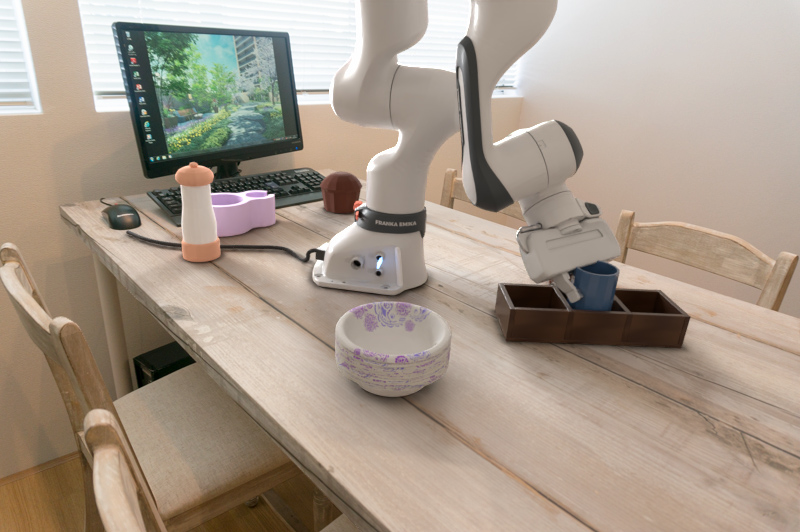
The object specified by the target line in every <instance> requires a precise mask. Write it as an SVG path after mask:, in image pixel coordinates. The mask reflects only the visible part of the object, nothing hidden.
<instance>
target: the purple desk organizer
mask: <svg viewBox="0 0 800 532" xmlns="http://www.w3.org/2000/svg"><path fill="white" fill-rule="evenodd" d="M275 196H276V195H275V193H270V194H268V190H259V189H256V190H255V189H254V190H246V191H241V192H211V199H212V206H213V210H214V214H215V218H216V222H217V237H218V238H219V237H221V238H224V237H232V236H233V237H234V236H238V235H242V234H245V233H248V232H249V231H250V230H252V229H256V228H265V227H270V226H273V225H275V224H276V220H277V219H276V197H275Z"/></svg>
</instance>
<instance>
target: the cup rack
mask: <svg viewBox="0 0 800 532" xmlns="http://www.w3.org/2000/svg"><path fill="white" fill-rule="evenodd" d="M567 298H568V297H567V295H566V294H565V293H564V292H563V291H562V290H560V289H559V288H558V287H557V286H556V285H555V284H537V283H533V284H532V283H511V282H509V283H508V282H498V284H497V291H496V299H495V306H494V314H495V318H496V319H497V322H498V324H499V327H500V330H501V332H502V335H503V337H504V340H505V341H506V342H522V343H523V342H525V343H548V344H549V343H550V344H577V345H596V346H597V345H598V346H600V345H601V346H621V347H622V346H623V347H624V346H625V347H648V348H670V349H673V348H674V349H682V347H683V344H684V341H685V338H686V334H687V331H688V327H689V325H690V321H691V315H689V314H688V313H687V312H686V311H685V310H684V309H682V307H680V306H679V305H678V304H677V303H676V302H675V301H673V300H672V298H670V297H669V296H668V295H667V294H666V293H665V292H664V291H662V290H661V289H647V288H644V289H643V288H623V287H616V290H615V295H614V299H613V304H612V308H611V311H594V310H573V309H572V308H571V306H570V305H569V303H568V302H567Z"/></svg>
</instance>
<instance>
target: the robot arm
mask: <svg viewBox="0 0 800 532" xmlns="http://www.w3.org/2000/svg"><path fill="white" fill-rule="evenodd" d="M468 2H469V3H468V4H469V10H468V11H469V13H468V21H467V26H466V30H465V33H464V36H463V37H462V38H461V40H460V41H459V42H458V44H457V45H456V51H455V70H452V69H448V68H444V67H440V66H429V65H428V66H427V65H411V64H403V63H400V61H399V59H398V55H399V54H401V53H404V52H405V51H407V50H409V49H411V48H412V47H414V46H415V45H416V44H418V43H419V42H420V41H421V40H422V39H423V37H424V36H425V34H426V32H427V30H428V26H429V6H428V0H353V4H354V12H355V13H354V15H355V25H356V26H355V27H356V37H355V44H354V48H353V51H352V53H351V55H350V57H349V59H348V60H347V61H346V62H345V63H344V64H343V65H342V66H340V67H339V68H338V70H337V71H336V72H335V74H334V75H333V77H332V80H331V82H330V85H329V86H330V87H329V101H330V104H331V108H332V110H333V112H334V113H335V115H336V117H337V118H338V119H339V120H341V121H344V122H346V123H350V124H352V125H356V126H358V127H362V128H369V129H379V130H388V131H396V132H398V141H397V144H395V146H393V147H391V148H389V149H386V150H384V151H381V152H380V153H377V154H376V155H375V156H373V158H371V160H370V161H369V163H368V165H367V168H366V185H365V186H366V187H365V202H363V201H361V200H359V201H356V203H354V207H353V208H354V218H353V219H354V222H353V223H351V224H350V225H349V226H347V227H346V228H344V229H342V230H341V231H340V232H338V233H337V234H335V235H333V237H332V238H331V239H330V240H329V242H325V243H323V244H321V245H320V246H318V247H314V248H310V249H308V250H307V251H306V253H305V257H304V258H303V257H300V256H299V255H298V254H297V253H296V252H295V251H294V250H292V249H290V248H289V247H286V246H281V245H272V244H271V245H270V244H220V250H239V249H240V250H276V251H282V252H286V253H288V254H290V255H291V256H292V257H294V258H295V259H297V260H299V261H300V262H302V263H307V262H309V261H310V259H311V254H313V253H314V254H315V260H317V261H316V262H315V264H314V266H313V268H312V275H311V278H312V281H313V282H314V284H315V285H316V286H318V287H323V288H329V289H339V290H347V291H352V292H353V291H355V292H363V293H369V294H370V293H372V294H378V295H386V296H397V295H399V294H401V293H402V292H404V291H406V290H411V289H415V288H417V287H420V286H422V285H423V284H425V283H426V282H427V280H428V279H429V275H428V272H427V266H426V260H425V249H424V248H425V247H424V246H425V245H424V238H425V236H426V232H427V221H428V220H427V219H428V217H427V216H428V214H427V206H426V204H425V203H426V193H427V186H428V180H429V179H428V178H429V173H430V169H431V165H432V163H433V160H434V158H435V157H436V154H438V151H439V150H440V149H441V148H442V146H443V145H444V144H445V143H446V142H447V141H448V140H449V139H450V138H451V137H453V136H455V135H456V134H458V133H459V132H460V143H461V144H460V145H461V162H460V164H461V166H460V167H461V168H460V169H461V181H462V186H463V189H464V192H465V195H466V196H467V198H468V200H469V202H470V204H472V206H474V207H476V208H478V209H481V210H483V211H486V212H491V213H495V214H497V213H499V212H500V211H502V210H504V209H507V208H508V207H510V206H512V205H514V204H515V203H516V202H518V204H519V206H520V209H521V210H520V212H521V215H522V217H523V219H524V221H525V223H526V225H524V226H521V227H519V228H518V230H517V232H516V235H515V240H516V242H517V244H518V250H519V253H520V257H521V260H522V263H523V265H524V268H525V270H526V273H527V275H528V277H529V280H531V281H532V282H533V283H534V284H536V285H539V284H541V283H545V282H547V281H548V282H549V280H552V279H553V281H554V282H553V283H554V285H556V286H557V287H558V288H559V289H560V290H562V291H563V292H564V293H565V294H566V295H567V297H568V299H569V301H570V302H571V303H574V302H577V301H579V300H581V299H583V298H584V295H583V294H582V291H581V289H580V288H576V287H575V286H574V285H573V284H572V283H571V282H570V281H569V279H570V276H569V274H572V272H573V270H575V269H576V267H579V268H582V267H585V266H589V265H592V264H595V263H597V261H598V260H599V261H604V262H607V263H610V262H612V261H614V260H617V259H618V258H619V257H621V254H622V249H621V248H622V247H621V245H620V243H619V241H618V239H617V237H616V235H615V233H614V231H613V229H612V228H611V226H610V224H609V223H608V222H607V220H605V219H604V218H602V215H603V214H604V213H603V210H602V208H601V206H600V205H599V204H598V203H594V202H591V201H587V200H583V199H581V198H578V197H575V195H574V193H573V191H572V190H571V189H570V188H569V187H568V186H567V184H566V181H567V180H569V178H572V177H574V176H575V175H576V174H577V172H578V170H579V168H580V167H581V164H582V161H583V158H584V149H583V146H582V144H581V142H580V139H579V137H578V135H577V134H576V132H575V131H574V129H573V128H572V127H571V126H570V125H568V124H566V123H565V122H563V121H560V120H557V119H551V120H547V121H544V122H541V123H537V124H536V125H533V126H530V127H528V128H527V127H526V128H525V127H524V128H520V129H517V130H514V131H512V132H511V133H509V134H508V135H507V136H505V137H504V138H503V139H501V140H499V141H496V142H494V135H493V133H494V132H493V113H492V98H493V94H494V91H495V89H496V86H497V85H498V83H499V81H500V80H501V79H502V77H503V76H504V75H505V74H506V73H507V72H508V70H509V69H510V68H511V67H513V65H514V64H515V63H517V62H518V60H519V59H521V57H523V56H525V55H526V53H528V52H529V51H530V50H531V49H532V48H533V47H534V46H536V45H537V44H538V42H540V40H541V39H542V38H543V36H544V35H545V34H546V32H547V31H548V30H549V28H550V26H551V24H552V23H553V21H554V19H555V17H556V16H555V15H556V13H557V10H558V5H559V4H558V2H559V0H468ZM125 233H126V234H127V235H128V236H131V237H134V238H136V239H138V240H140V241H142V242H143V241H144V242H147V243H150V244H154V245H158V246H159V245H160V246H166V247H173V248H181V249H182V243H179V242H171V241H164V240H158V239H153V238H149V237H146V236H143V235H141V234H137V233H135V232H134V231H131V230H126V231H125Z"/></svg>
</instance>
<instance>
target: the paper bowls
mask: <svg viewBox="0 0 800 532" xmlns="http://www.w3.org/2000/svg"><path fill="white" fill-rule="evenodd" d="M334 330H335V331H334V332H335V333H334V339H335V341H334V346H335V349H334V358H335V364H336V367H337V369H338V371H339V372H340V373H341V374H342V375H343V376H344V377H345V378H346V379H348V380H351V381H352V382H354V383H356V384H357V385H358V386H359V387H360V388H362V389H363V390H365V391H366V392H369V393H371V394H374V395H376V396H381V397H387V398H388V397H389V398H397V397H399V398H400V397H406V396H409V395H412V394H415V393H417V392H418V391H421V390H422V389H423V388H424V387H427V386H429V385H431V384H433V383H436V382H437V381H438V380H440V379H441V378H442V377H443V376H444V374H445V373H446V372H447V370H448V367H449V364H450V357H451V350H452V349H451V348H452V330H451V327H450V325H449V322H447V320H446V319H445V318H444V317H443V316H441V315H440V314H439V313H437V312H436V311H433V310H432V309H429V308H427V307H425V306H421V305H418V304H415V303H410V302H404V301H391V300H390V301H389V300H388V301H387V300H385V301H375V302H369V303H365V304H361V305H357V306H355V307H353V308H351V309H349V310H348V311H346V312H345V313H344V314H343V315H341V317H340V318H339V319H338V321H337V323H336V325H335V329H334Z"/></svg>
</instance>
